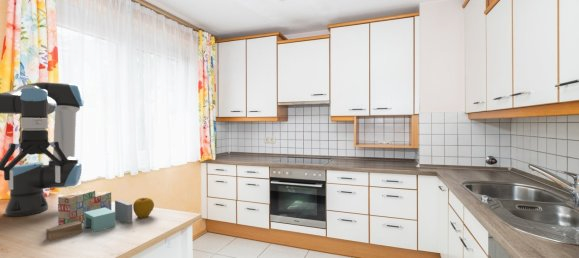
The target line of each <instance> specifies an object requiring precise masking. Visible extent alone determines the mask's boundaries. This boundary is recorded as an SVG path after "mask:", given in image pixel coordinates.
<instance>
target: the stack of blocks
mask: <svg viewBox="0 0 579 258" xmlns="http://www.w3.org/2000/svg"><path fill="white" fill-rule="evenodd" d="M57 200H58V201H57V202H58V203H57V212H58V226H59V225H63V224H68V223H72V222H76V221H79V222H81V223H82V222H84V212H87V211H91V210H96V209H100V208H107V209H110V210H112V192H111V191H98V192H96V190H93V189H92V190H91V189H90V190H89V189H83V190H78V191H75V192H72V193H68V194H64V195H61V196H58V197H57Z"/></svg>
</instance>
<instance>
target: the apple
mask: <svg viewBox="0 0 579 258" xmlns="http://www.w3.org/2000/svg"><path fill="white" fill-rule="evenodd" d="M154 207H155V203H154V201H153V199H151V198H149V197H140V198H137V199H136V200H135V201H134V202H133V203H132V211H133V212H134V215H135V216H136V217H138V218H140V219H145V218H147V217H149V215H151V213H152V212H153V210H154Z"/></svg>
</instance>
